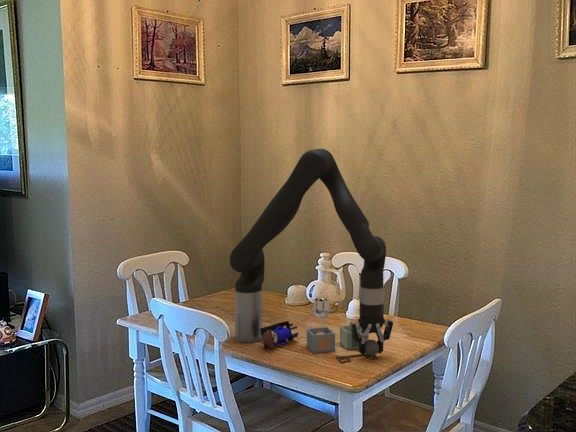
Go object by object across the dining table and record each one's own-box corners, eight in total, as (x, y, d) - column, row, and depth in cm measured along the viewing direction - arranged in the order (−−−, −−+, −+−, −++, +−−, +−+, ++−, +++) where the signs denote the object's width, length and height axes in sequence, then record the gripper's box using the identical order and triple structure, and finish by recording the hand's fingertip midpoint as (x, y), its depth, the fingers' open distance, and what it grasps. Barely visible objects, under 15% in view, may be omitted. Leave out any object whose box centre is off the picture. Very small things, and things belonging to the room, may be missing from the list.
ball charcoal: (366, 358, 187) (366, 343, 186) (360, 353, 192) (360, 338, 191) (381, 357, 188) (381, 341, 187) (375, 352, 193) (375, 336, 192)
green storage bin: (347, 350, 197) (347, 332, 196) (339, 343, 204) (339, 325, 204) (368, 348, 198) (368, 330, 198) (360, 341, 206) (360, 324, 205)
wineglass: (328, 335, 213) (328, 302, 211) (312, 334, 214) (311, 301, 212) (330, 330, 218) (330, 297, 217) (314, 329, 219) (314, 297, 218)
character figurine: (302, 343, 206) (268, 354, 196) (287, 336, 211) (254, 347, 201) (303, 321, 204) (269, 331, 194) (288, 315, 209) (255, 325, 199)
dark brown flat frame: (339, 363, 186) (339, 361, 186) (335, 358, 190) (335, 356, 190) (379, 359, 189) (379, 357, 188) (374, 354, 193) (374, 352, 193)
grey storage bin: (313, 353, 194) (312, 335, 193) (306, 345, 202) (306, 328, 201) (335, 351, 196) (335, 333, 195) (328, 344, 203) (328, 326, 203)
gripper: (353, 305, 182) (353, 359, 184) (398, 302, 186) (397, 355, 188) (345, 299, 190) (345, 351, 192) (388, 296, 193) (387, 347, 195)
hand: (371, 353), depth 190 cm, fingers closed on ball charcoal, 5 cm apart
